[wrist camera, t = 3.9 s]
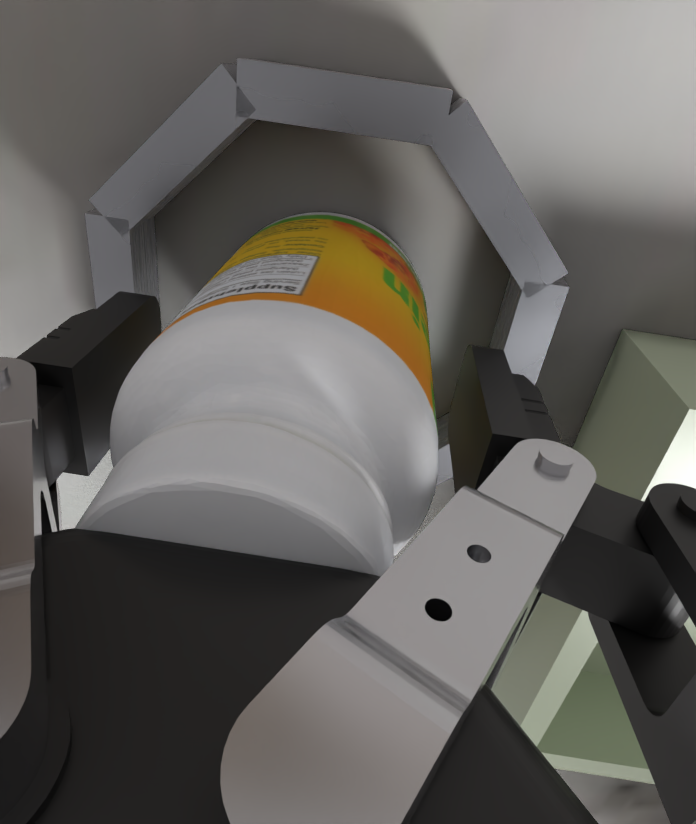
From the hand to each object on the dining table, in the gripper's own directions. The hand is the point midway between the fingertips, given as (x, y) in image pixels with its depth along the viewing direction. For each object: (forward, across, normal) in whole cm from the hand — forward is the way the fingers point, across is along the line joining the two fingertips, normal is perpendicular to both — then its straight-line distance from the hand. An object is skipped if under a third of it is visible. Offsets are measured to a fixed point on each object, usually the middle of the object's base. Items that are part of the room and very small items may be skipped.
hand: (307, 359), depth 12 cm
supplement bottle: (+3, 0, 0) cm, 3 cm away
